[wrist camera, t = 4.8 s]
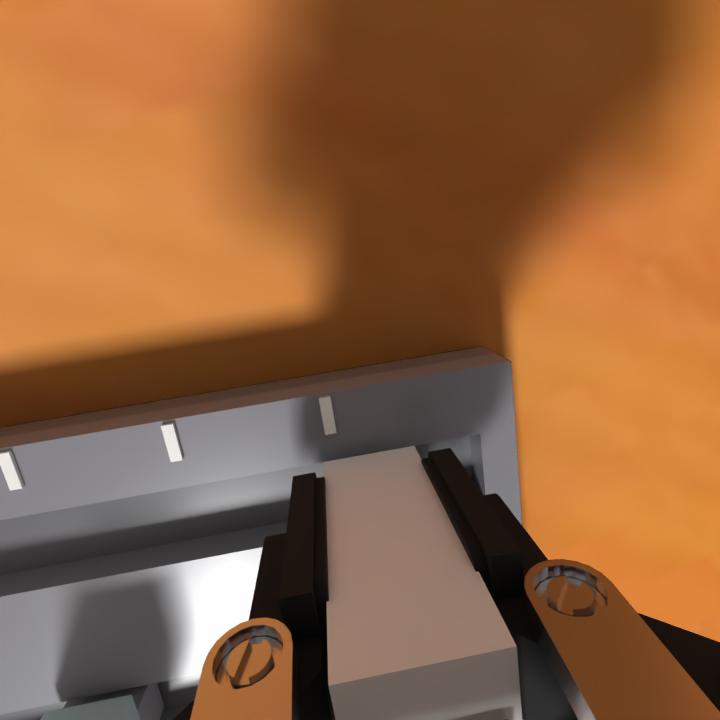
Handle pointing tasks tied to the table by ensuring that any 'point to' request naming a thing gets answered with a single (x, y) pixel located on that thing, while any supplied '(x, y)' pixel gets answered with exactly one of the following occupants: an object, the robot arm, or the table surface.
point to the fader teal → (113, 706)
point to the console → (199, 512)
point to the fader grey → (408, 602)
